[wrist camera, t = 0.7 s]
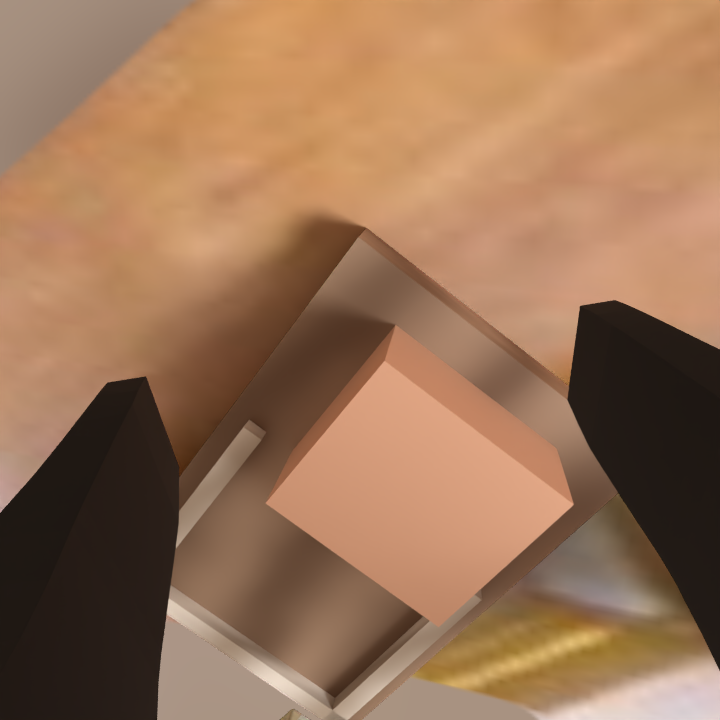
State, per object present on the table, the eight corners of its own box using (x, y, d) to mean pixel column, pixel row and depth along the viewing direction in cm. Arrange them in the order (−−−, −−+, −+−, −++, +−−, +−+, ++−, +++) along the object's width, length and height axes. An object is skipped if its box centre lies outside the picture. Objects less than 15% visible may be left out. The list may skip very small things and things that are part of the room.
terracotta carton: (556, 448, 28) (573, 504, 24) (441, 559, 31) (438, 627, 27) (395, 324, 27) (384, 360, 23) (292, 450, 30) (265, 503, 26)
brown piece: (635, 438, 30) (655, 473, 27) (359, 690, 38) (351, 740, 35) (366, 227, 29) (355, 240, 26) (136, 536, 36) (107, 573, 33)
